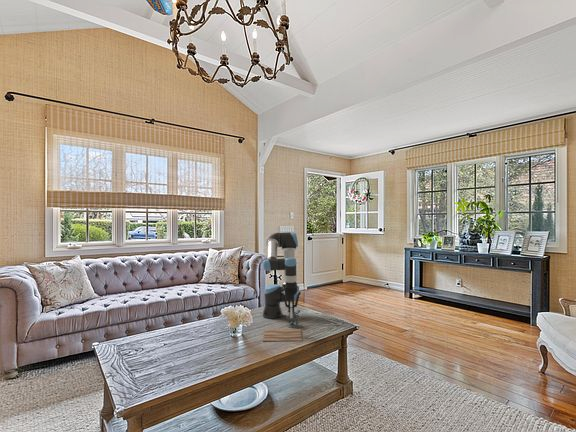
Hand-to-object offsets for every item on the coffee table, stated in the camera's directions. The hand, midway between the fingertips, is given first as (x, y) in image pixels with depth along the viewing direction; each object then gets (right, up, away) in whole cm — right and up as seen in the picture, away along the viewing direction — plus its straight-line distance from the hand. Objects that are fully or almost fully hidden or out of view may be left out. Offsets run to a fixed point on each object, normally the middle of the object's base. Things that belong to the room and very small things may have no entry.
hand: (291, 317), depth 204 cm
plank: (-6, -10, -1) cm, 12 cm away
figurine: (+2, -11, +13) cm, 17 cm away
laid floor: (-6, -11, -11) cm, 16 cm away
